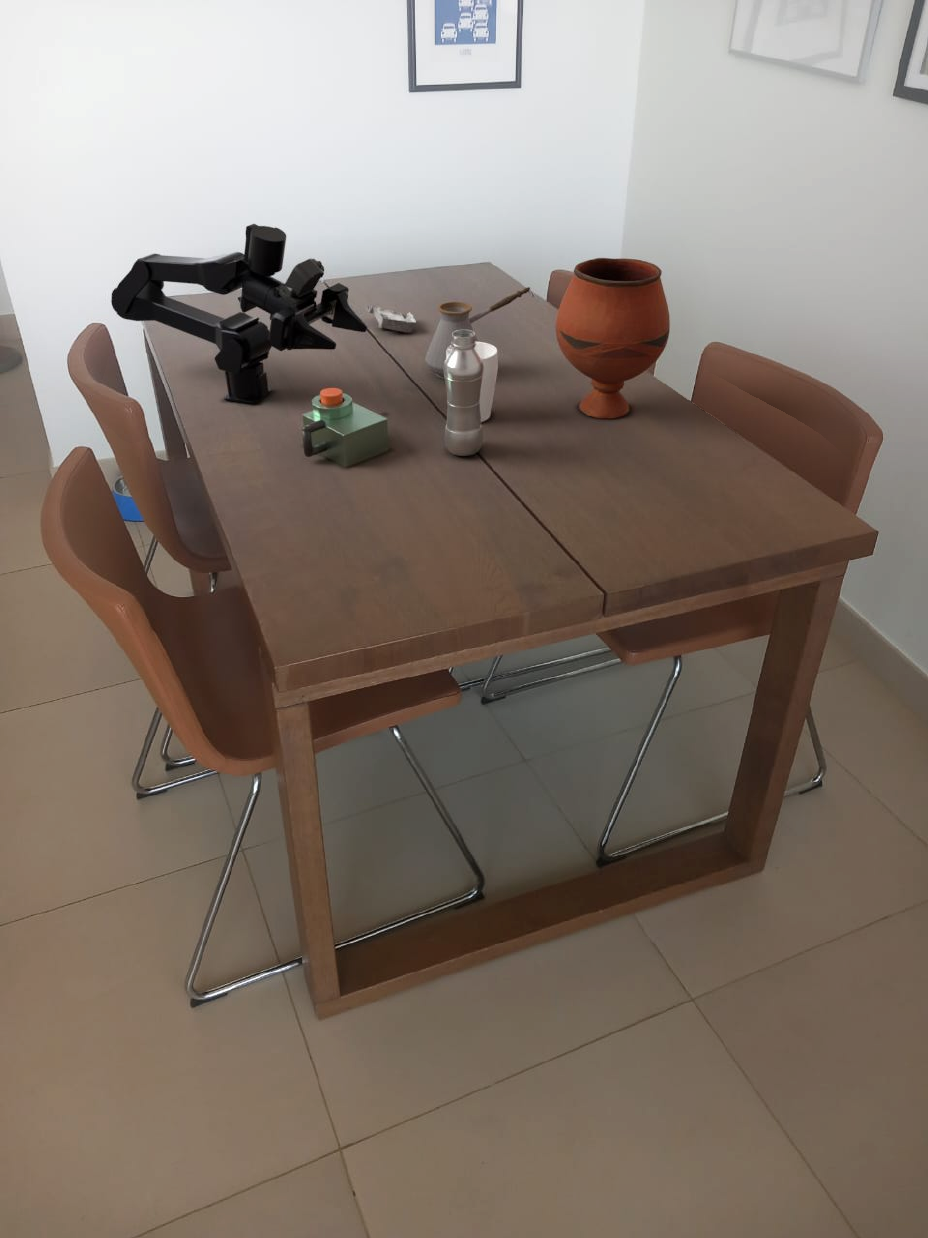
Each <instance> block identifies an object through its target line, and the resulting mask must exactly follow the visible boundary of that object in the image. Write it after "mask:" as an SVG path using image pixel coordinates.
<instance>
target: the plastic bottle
mask: <svg viewBox="0 0 928 1238" xmlns="http://www.w3.org/2000/svg"><path fill="white" fill-rule="evenodd" d="M475 335H476V333H475V331H474V332H473V331H471V330H457V331H454V332H453V333H452V342H451V346H452V347H453V349H452V351H451V352H450V353H449V355H448V356H447V358H446V360H445V362H444V366H443V370H444V377H445V379H444V383H445V390H446V402H447V403H446V405H447V407H446V409H447V410H446V422H445V423H446V424H445V426H444V427H445V428H444V435H443V440H444V445H445V448H446V449H447V451H448V453H450V454H452V455H455V456H458V457H459V456H460V457H467V456H472V455H475V454H477V453H478V452H480V450H481V448H482V446H483V442H484V430H483V426H482V425H483V424H482V422H481V416H480V392H481V383H482V377H483V368H484V366H483V362H482V359H481V358H480V356H479V354H478V353H477V352H476V350H475V349H474V347H475V346H476V341H475Z"/></svg>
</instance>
